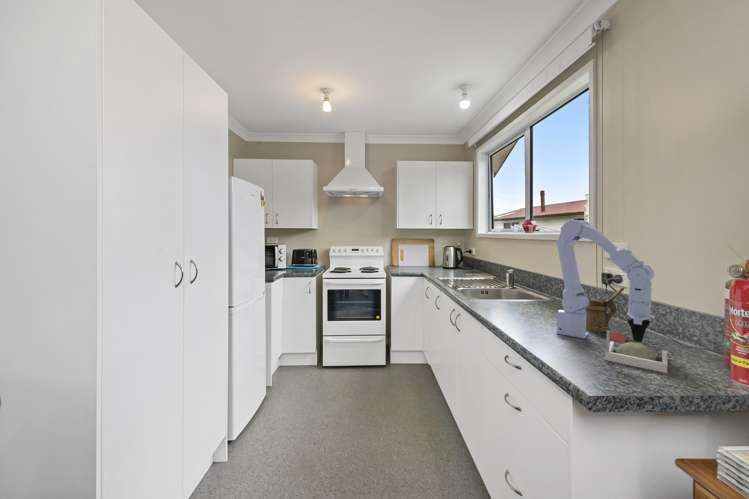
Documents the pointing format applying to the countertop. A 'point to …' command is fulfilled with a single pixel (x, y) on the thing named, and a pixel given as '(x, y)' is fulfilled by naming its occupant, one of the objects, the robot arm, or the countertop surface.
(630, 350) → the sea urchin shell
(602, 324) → the wooden mug
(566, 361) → the countertop surface
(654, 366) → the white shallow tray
